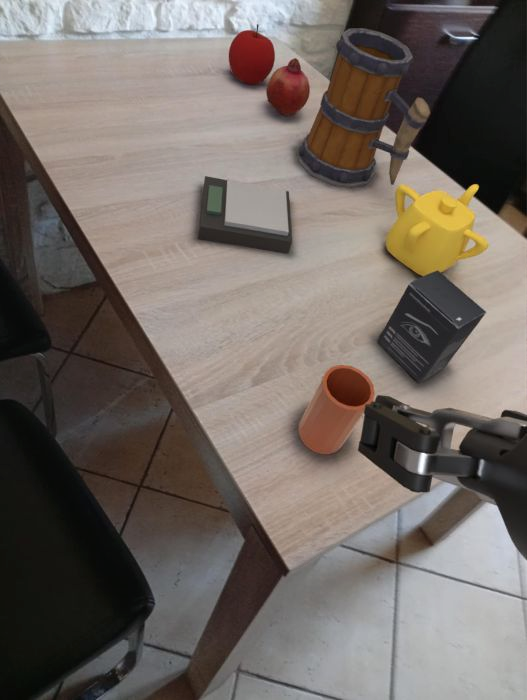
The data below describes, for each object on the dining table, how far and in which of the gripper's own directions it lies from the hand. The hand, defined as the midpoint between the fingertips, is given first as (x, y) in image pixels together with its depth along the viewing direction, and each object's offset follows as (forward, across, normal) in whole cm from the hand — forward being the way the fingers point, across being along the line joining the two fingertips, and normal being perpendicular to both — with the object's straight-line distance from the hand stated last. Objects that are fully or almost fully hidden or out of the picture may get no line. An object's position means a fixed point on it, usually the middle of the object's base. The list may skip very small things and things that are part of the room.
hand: (442, 418), depth 33 cm
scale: (+49, +9, -17) cm, 53 cm away
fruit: (+74, +2, -42) cm, 85 cm away
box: (+34, -13, -1) cm, 36 cm away
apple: (+82, +9, -50) cm, 96 cm away
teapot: (+48, -19, -16) cm, 54 cm away
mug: (+62, -9, -30) cm, 70 cm away
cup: (+24, 0, +8) cm, 25 cm away
